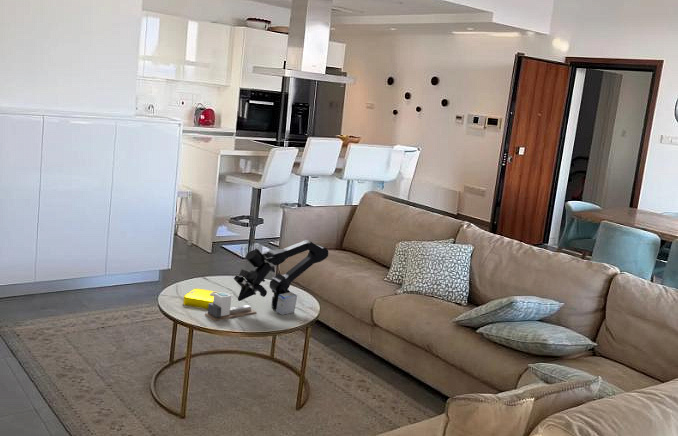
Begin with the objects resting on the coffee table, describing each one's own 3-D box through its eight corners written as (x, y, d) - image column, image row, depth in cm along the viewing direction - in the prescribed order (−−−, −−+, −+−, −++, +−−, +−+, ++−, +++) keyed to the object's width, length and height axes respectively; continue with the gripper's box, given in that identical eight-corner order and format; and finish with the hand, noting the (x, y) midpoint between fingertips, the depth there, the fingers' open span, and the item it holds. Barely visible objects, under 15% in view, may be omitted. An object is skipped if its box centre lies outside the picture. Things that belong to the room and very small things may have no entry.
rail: (244, 307, 315) (245, 297, 314) (253, 311, 310) (254, 302, 309) (207, 313, 301) (208, 303, 300) (216, 318, 296) (217, 308, 295)
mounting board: (245, 308, 316) (245, 306, 316) (256, 313, 310) (256, 311, 310) (204, 315, 301) (205, 313, 300) (215, 320, 295) (215, 319, 295)
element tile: (193, 296, 325) (194, 286, 324) (224, 301, 323) (225, 291, 322) (181, 305, 310) (182, 295, 310) (213, 311, 308) (214, 300, 308)
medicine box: (288, 309, 321) (290, 291, 319) (294, 312, 318) (297, 295, 316) (275, 311, 315) (278, 294, 313) (282, 315, 312) (285, 297, 310)
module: (221, 310, 305) (223, 291, 304) (229, 314, 301) (231, 295, 299) (212, 312, 302) (213, 292, 300) (220, 316, 298) (221, 296, 296)
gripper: (238, 257, 313) (216, 284, 308) (263, 268, 301) (241, 296, 295) (251, 272, 320) (230, 298, 315) (276, 283, 308) (254, 310, 302)
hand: (238, 300), depth 307 cm, fingers closed
